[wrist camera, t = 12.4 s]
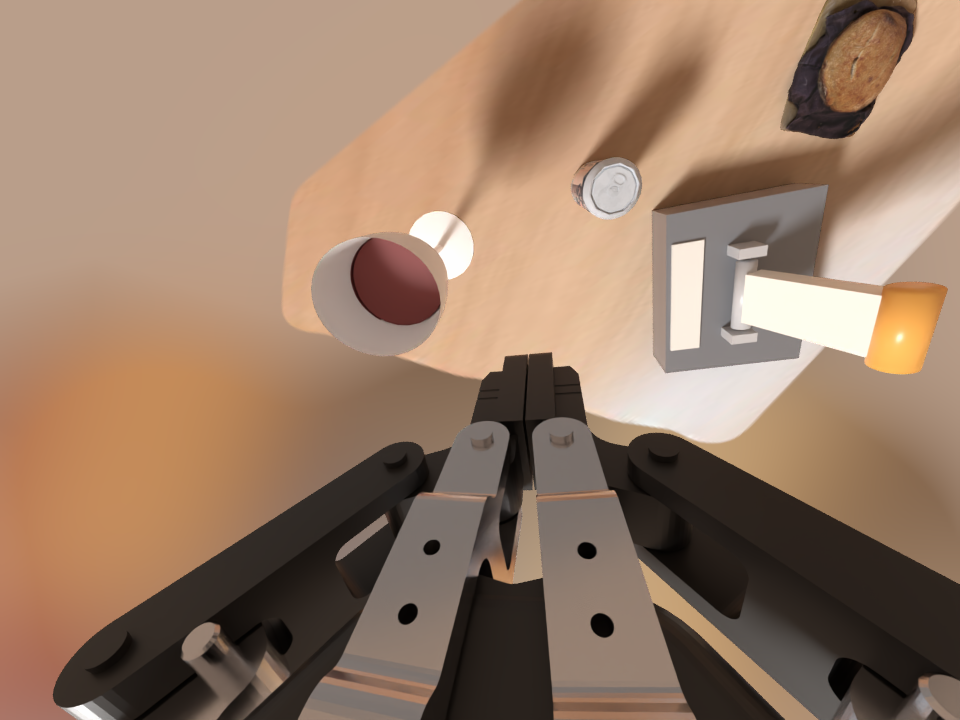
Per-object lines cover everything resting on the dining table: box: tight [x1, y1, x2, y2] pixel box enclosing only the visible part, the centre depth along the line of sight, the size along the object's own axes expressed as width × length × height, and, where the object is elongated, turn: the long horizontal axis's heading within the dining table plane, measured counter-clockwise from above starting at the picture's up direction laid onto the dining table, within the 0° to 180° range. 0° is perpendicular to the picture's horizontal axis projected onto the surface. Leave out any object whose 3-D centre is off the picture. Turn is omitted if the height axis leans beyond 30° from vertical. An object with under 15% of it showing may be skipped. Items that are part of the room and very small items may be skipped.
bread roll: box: [780, 0, 916, 139], centre depth 34 cm, size 11×8×4 cm
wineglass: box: [311, 211, 474, 356], centre depth 37 cm, size 9×10×22 cm
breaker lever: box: [730, 258, 948, 374], centre depth 33 cm, size 3×7×15 cm, turn 11°
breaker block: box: [652, 183, 828, 373], centre depth 41 cm, size 14×18×8 cm
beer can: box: [571, 157, 642, 219], centre depth 36 cm, size 5×5×12 cm
